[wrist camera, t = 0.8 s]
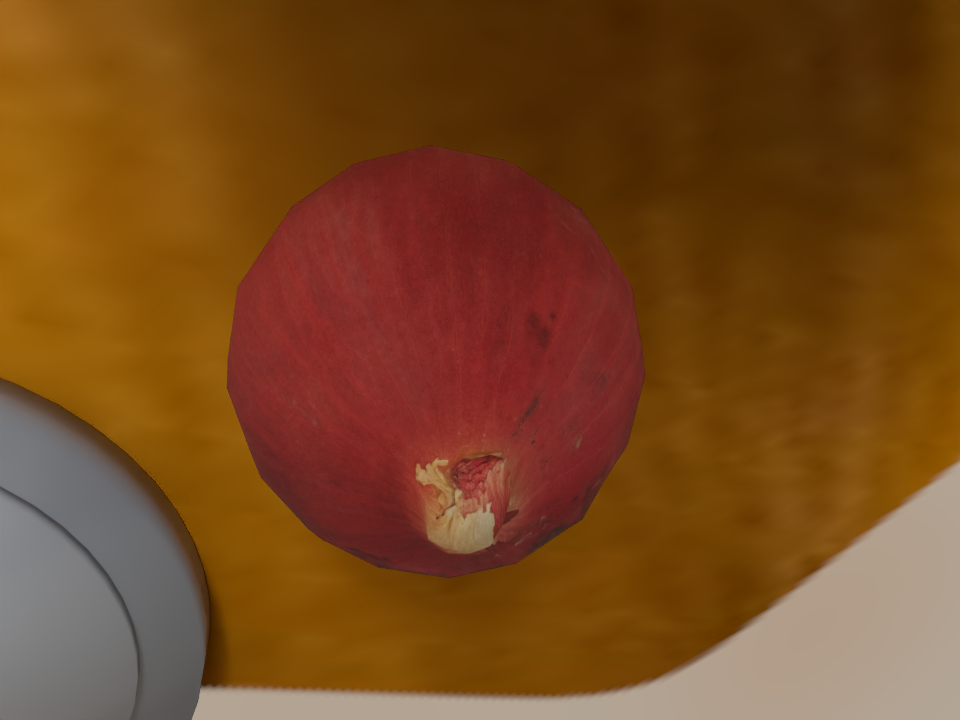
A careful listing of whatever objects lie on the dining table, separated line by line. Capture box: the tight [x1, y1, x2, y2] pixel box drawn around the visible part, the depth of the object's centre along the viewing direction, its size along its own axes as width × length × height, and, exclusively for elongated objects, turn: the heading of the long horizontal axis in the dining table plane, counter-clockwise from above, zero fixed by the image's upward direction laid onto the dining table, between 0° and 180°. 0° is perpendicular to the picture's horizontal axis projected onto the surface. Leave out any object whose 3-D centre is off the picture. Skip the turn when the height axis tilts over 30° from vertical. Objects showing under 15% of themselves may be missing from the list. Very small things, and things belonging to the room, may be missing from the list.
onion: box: [227, 146, 645, 578], centre depth 13 cm, size 6×6×8 cm
